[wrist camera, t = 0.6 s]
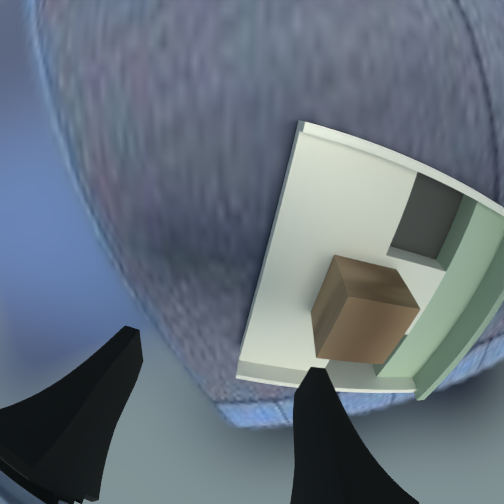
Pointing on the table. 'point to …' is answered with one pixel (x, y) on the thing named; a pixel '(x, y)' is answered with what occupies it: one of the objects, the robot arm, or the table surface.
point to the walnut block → (361, 312)
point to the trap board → (373, 262)
